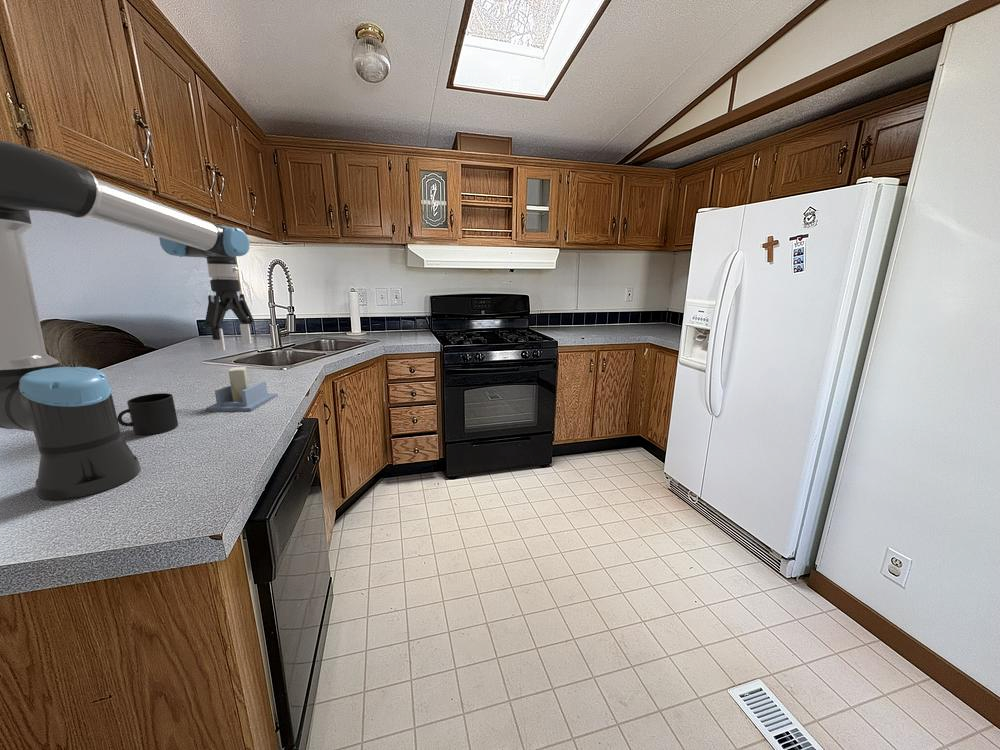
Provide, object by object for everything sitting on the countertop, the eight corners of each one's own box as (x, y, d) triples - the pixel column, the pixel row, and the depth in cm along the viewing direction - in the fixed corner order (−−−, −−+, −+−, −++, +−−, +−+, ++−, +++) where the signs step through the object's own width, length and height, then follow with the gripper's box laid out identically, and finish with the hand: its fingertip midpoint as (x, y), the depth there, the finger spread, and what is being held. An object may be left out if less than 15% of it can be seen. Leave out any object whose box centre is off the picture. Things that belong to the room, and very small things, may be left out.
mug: (119, 432, 109) (111, 400, 107) (174, 420, 118) (168, 391, 115) (123, 441, 103) (115, 408, 101) (181, 428, 111) (175, 397, 109)
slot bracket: (251, 411, 126) (248, 392, 125) (206, 411, 126) (202, 392, 124) (277, 396, 142) (275, 379, 140) (237, 396, 141) (235, 379, 140)
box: (236, 399, 134) (230, 367, 132) (251, 398, 136) (246, 366, 133) (233, 404, 130) (227, 370, 127) (248, 402, 131) (243, 369, 129)
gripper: (208, 278, 112) (220, 353, 117) (259, 279, 136) (267, 341, 141) (181, 278, 112) (194, 353, 117) (237, 278, 136) (245, 340, 141)
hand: (234, 346), depth 129 cm, fingers open, 13 cm apart
